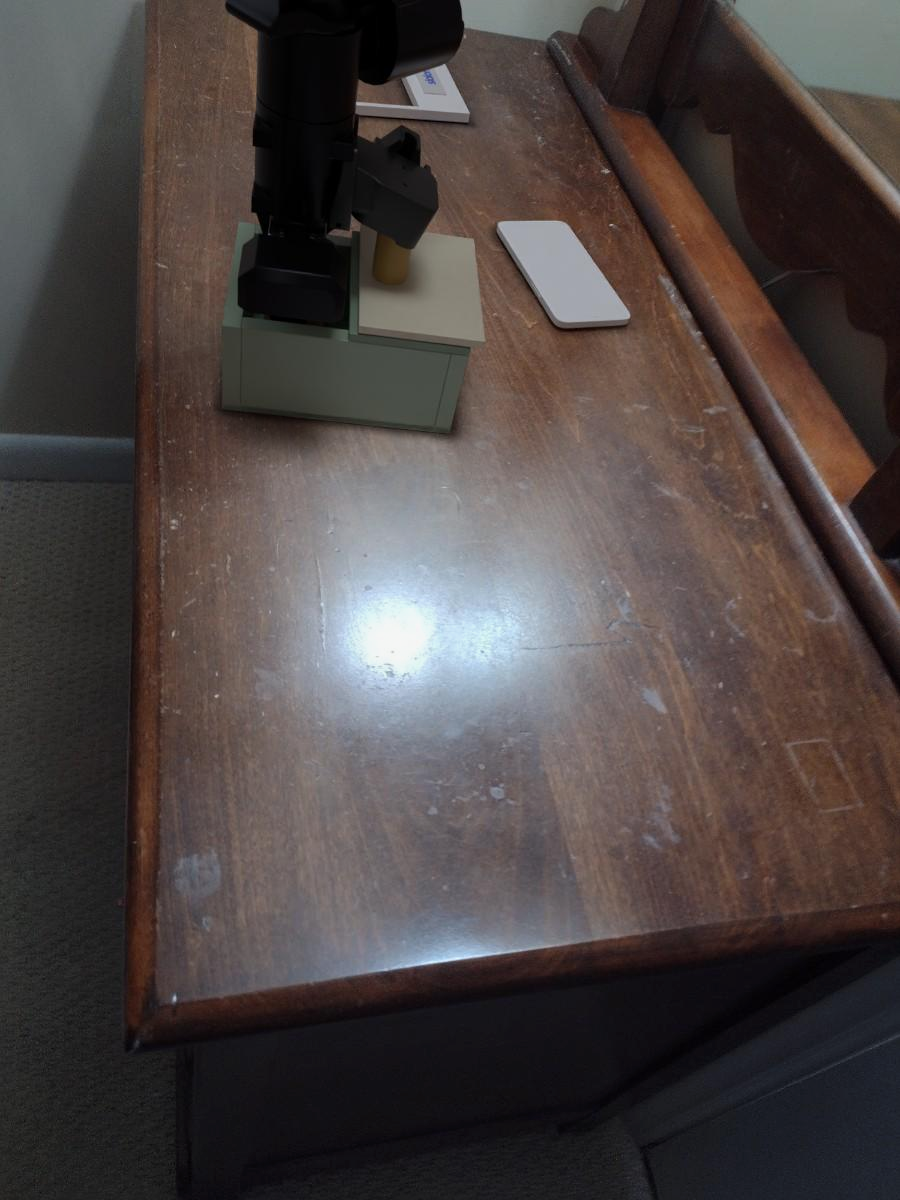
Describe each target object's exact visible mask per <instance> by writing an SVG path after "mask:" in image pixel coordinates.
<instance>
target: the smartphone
mask: <svg viewBox="0 0 900 1200" xmlns="http://www.w3.org/2000/svg"><path fill="white" fill-rule="evenodd" d="M496 233H497V235H498V237H499V238H500V240H501V242H502V243H503V245H504V246H505V248H506V249H507V251H508V253H509V254H510V256H511V258H512V260H513V261H514V263H515V265H516V266H517V268H518V269H519V270H520V273H522V275H523V277H524V279H525V280H526V282H527V284H528V285H529V286H530V288H531V290H532V291H533V293H534V294H535V296H536V298H537V299H538V301H539V303H540V304H541V306H542V307H543V309H544V311H545V312H546V314H547V316H548V317H549V319H550V320H551V323H553V325H555V326H556V327H558V328H561V329H576V328H577V329H580V328H597V327H615V326H625V325H627V324H628V323H629V321H630V319H631V312H630V311H629V309H628V308H627V307H626V305H625V304H624V302H623V301H622V300H621V298H620V296H619V295H618V294H617V292H616V291H615V290H614V288H613V287H612V285H611V284H610V283H609V281H608V279H607V278H606V277H605V275H604V274H603V272H602V271H601V270H600V268H599V266H598V265H597V264H596V263H595V261H594V259H593V258H592V257H591V255H590V254H589V252H588V251H587V250H586V248H585V247H584V245H583V244H582V242H581V241H580V239H579V238H578V237H577V236H576V234H575V232H574V231H573V229H572V228H571V227H570V225H569V224H568V223H566V222H564V221H563V220H503V221H499V222H498V223H497V227H496Z"/></svg>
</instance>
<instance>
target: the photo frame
mask: <svg viewBox="0 0 900 1200" xmlns="http://www.w3.org/2000/svg"><path fill="white" fill-rule="evenodd" d="M401 81H402V84H403V86H404V88H405V91H406V93H407V95H408V97H409V100H410V102H411V104H412V105H404V104H403V105H400V104H389V103H388V104H387V103H374V102H363V101H357V102H356V112H355V114H359V116H371V117H383V118H397V119H398V118H399V119H414V120H427V121H439V122H455V123H469V121H470V116H471V112H470V110H469V109H468V106H467V105H466V103H465V101H464V98H463V96H462V95H461V93H460V91H459V89H458V87H457V85H456V83H455V81H454V79H453V77H452V75H451V72H450V70H449V69H448V67H447V65H446V64H444V65H442V66H439V67H436V68H433V69H430V70H427V71H423V72H420V73H417V74H414V75H411V76H408V77H405V78H402V79H401Z"/></svg>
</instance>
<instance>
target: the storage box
mask: <svg viewBox="0 0 900 1200" xmlns="http://www.w3.org/2000/svg"><path fill="white" fill-rule="evenodd" d="M259 233H260V234H263V233H262V230H261V227H260V224H259V223H252V222H247V221H238V224H237V230H236V236H235V242H234V249H233V253H232V259H231V260H232V261H231V266H230V273H229V279H228V285H227V291H226V296H225V301H224V302H225V304H224V308H223V315H222V321H221V403H222V404H221V406H222V407H221V408H222V410H225V411H235V412H244V413H245V412H246V413H254V414H262V415H263V414H264V415H272V416H284V417H290V418H291V417H292V418H300V419H310V420H318V421H327V422H337V423H347V424H353V425H354V424H355V425H362V426H363V425H365V426H374V427H383V428H391V429H392V428H393V429H401V430H411V431H419V432H429V433H437V434H448V435H449V434H450V433H451V430H452V429H451V428H452V426H453V425H452V424H453V421H454V416H455V414H456V413H455V412H456V409H457V406H458V402H459V401H458V400H459V397H460V393H461V389H462V385H463V381H464V377H465V374H466V369H467V365H468V361H469V356H470V353H471V349H472V347H466V346H458V345H450V344H442V343H434V342H426V341H419V340H411V339H403V338H395V337H387V336H379V335H371V334H363V333H358V300H359V251H360V230H353V229H352V230H351V237H350V236H349V237H348V236H342V235H336V234H335V235H334V234H330V233H328V234H327V235H326V238H327V239H329V240H331V241H333V242H334V243H335V244H336V248H337V249H338V250H339V251H340V252H341V253H342V254H343V256H344V257H345V258H346V259H347V279H346V297H345V306H344V315H343V319H342V320H339V321H337V322H335V323H327V322H323V327H319V326H312V325H304V324H296V323H288V322H280V321H272V320H264V314H257V313H249V312H245V311H244V310H243V309H242V308H240V307H239V306H238V305H237V297H238V273H239V266H240V260H241V253H242V247H243V244H245V243H246V242H248V241H249V240H250V239H252V238H253V237H254V236H256V235H257V234H259Z"/></svg>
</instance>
